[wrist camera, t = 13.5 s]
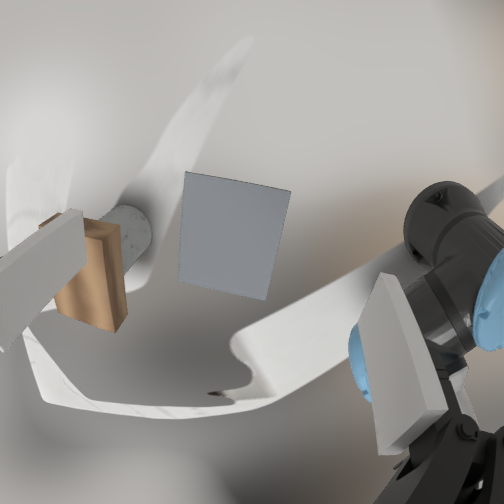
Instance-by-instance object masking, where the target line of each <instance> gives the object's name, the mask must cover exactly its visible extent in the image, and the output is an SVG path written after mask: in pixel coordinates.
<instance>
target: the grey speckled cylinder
mask: <svg viewBox="0 0 504 504" xmlns="http://www.w3.org/2000/svg"><path fill="white" fill-rule="evenodd" d="M98 221H103V222H108V223H113V224H118V225H120V232H121V249H122V263H123V274H124V275H125V273H126V272H127V271H128V270H129V269H130V267H131V266H132V265H133V264H134V263H135V262H136V260H137V259H138V258H139V257H140V256H141V255H142V253H143V252H144V251H145V250H146V249H147V248H148V247H149V245H150V243H151V240H152V229H151V226H150V223H149V221H148V219H147V218H146V216H145V215H144V214H143V213H142V212H141V211H140V210H138V209H137V208H135V207H133V206H130V205H119V206H116V207H115V208H113V209H112V210H111V211H110V212H108V213H107V214H106V215H105V216H103V217H102V218H100V219H99V220H98Z"/></svg>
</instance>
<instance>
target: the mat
mask: <svg viewBox="0 0 504 504" xmlns="http://www.w3.org/2000/svg"><path fill="white" fill-rule="evenodd" d="M290 194H291V191H287V190H283V189H278V188H273V187H268V186H263V185H258V184H253V183H248V182H242V181H237V180H232V179H226V178H220V177H215V176H209V175H203V174H197V173H190V172H185V178H184V190H183V202H182V215H181V230H180V248H179V270H178V281H180V282H184V283H188V284H192V285H197V286H201V287H205V288H210V289H214V290H218V291H223V292H228V293H232V294H237V295H241V296H247V297H251V298H256V299H261V300H266V297H267V293H268V289H269V284H270V281H271V276H272V272H273V268H274V263H275V260H276V255H277V251H278V247H279V242H280V238H281V234H282V230H283V225H284V221H285V216H286V212H287V208H288V203H289V198H290Z"/></svg>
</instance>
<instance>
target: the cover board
mask: <svg viewBox="0 0 504 504" xmlns="http://www.w3.org/2000/svg"><path fill="white" fill-rule="evenodd" d="M61 214H63V213H57V214H55V215H54V216H52V217H51V218H49V219H48V220H46V221H45V222H43V223H42V224H40V225H39V229H41V228H42V227H43V226H45V225H46V224H48V223H49V222H51V221H52V220H54V219H55V218H57V217H58V216H60V215H61ZM83 222H84V233H85V242H86V251H87V259H88V263H87V264H86V265H85V266H84V267H83V268H82V269H81V270H80V271H79V272H78V273H77V274H76V275H75V276H74V277H73V278H72V279H71V280H70V281H69V282H68V283H67V284H66V285H65V286H64V287H63V288H62V289H61V290H60V291H59V292H58V293H57V294H56V295H55V296H54V300H55V303H56V307H57V310H58V312H59V313H61V314H64V315H66V316H69V317H71V318H74V319H77V320H79V321H82V322H85V323H87V324H90V325H93V326H96V327H99V328H101V329H104V330H107V331H111V332H114V333H116V331H117V330H118V328H119V327H120V325H121V324H122V322H123V321H124V319H125V318H126V316H127V315H128V310H127V302H126V294H125V285H124V274H123V263H122V249H121V232H120V225H118V224H113V223H108V222H103V221H98V220H92V219H88V218H83Z"/></svg>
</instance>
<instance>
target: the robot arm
mask: <svg viewBox="0 0 504 504" xmlns="http://www.w3.org/2000/svg"><path fill="white" fill-rule="evenodd" d="M404 240H405V244H406V247H407V249H408V251H409V252H410V254H411V255H412V257H413V258H414V260H415V261H416V262H417V263H418V264H419V265H420V266H422V267H423V268H425V269H427V270H429V271H430V272H429V273H427V274H426V275H425V276H423V277H422V278H420V279H419V280H418V281H416V282H415V283H413V284H412V285H411V286H409V287H408V288H407V289H405V290H404V291H403V290H402V287H401V285H400V283H399V281H398V279H397V277H396V275H391V274H387V273H382V272H380V274H379V276H378V278H377V281H376V283H375V285H374V287H373V290H372V292H371V294H370V296H369V299H368V301H367V303H366V305H365V307H364V309H363V312H362V314H361V316H360V318H359V320H358V322H357V323H356V324H355V326H354V327H353V328H352V331H351V333H350V337H349V342H348V352H349V360H350V365H351V369H352V372H353V376H354V378H355V381H356V383H357V385H358V387H359V389H360V390H362V392H363V396H364V397H365V398H366V400H368V401H369V402H370V403H372V406H373V413H374V420H375V428H376V436H377V445H378V454H379V455H398V454H400V453H401V452H402V451H403V450H405V449H406V448H407V447H408V446H409V452H410V455H409V456H408V457H406V458H405V459H404V460H402V461H401V462H400V463H398V464H397V465H396V466H395V467H394V468H393V469H394V470H396V469H397V468H399V469H398V470H397V472H396V474H395V475H394V476H393V478H392V479H391V480H390V482H389V483H388V485H387V486H386V487H385V489H384V490H383V491H382V493H381V494H380V495H379V497H378V498H377V499H376V500H375V502H374V503H373V504H504V426H503V427H501V428H500V429H498V430H497V431H496V432H495V433H494V434H492V433H488V432H484V431H481V430H480V427H479V425H478V422H477V419H476V416H475V414H474V411H473V408H472V406H471V403H470V401H469V398H468V396H467V393H466V391H465V389H464V383H465V379H466V376H467V373H468V370H469V367H468V365H467V363H466V361H465V359H464V355H465V354H466V353H467V352H469V351H470V350H472V349H473V348H474V347H476V346H478V347H480V348H482V349H483V350H485V351H495V350H496V349H497V348H498V349H500V348H503V347H504V230H503V229H502V228H501V227H499V226H498V225H497V224H496V223H494V222H493V221H492V220H491V219H489V218H488V217H487V215H486V213H485V211H484V209H483V207H482V205H481V203H480V201H479V200H478V198H477V197H476V196H475V195H474V193H473V192H471V191H470V190H469V189H467V188H466V187H464V186H463V185H461V184H459V183H456V182H451V181H444V182H438V183H435V184H433V185H431V186H429V187H427V188H426V189H424V190H423V191H422V192H421V193H420V194H419V195H418V196H417V197H416V198H415V199H414V201H413V202H412V204H411V205H410V207H409V209H408V211H407V214H406V217H405V222H404ZM87 263H88V259H87V251H86V242H85V233H84V222H83V211H81V210H76V209H69V210H67V211H66V212H64V213H63V214H61V215H60V216H58V217H57V218H55V219H54V220H52V221H51V222H49V223H48V224H46V225H45V226H43V227H42V228H41V229H39V230H38V231H36V232H35V233H34V234H32V235H31V236H29V237H28V238H27V239H25V240H24V241H23V242H21V243H20V244H19V245H17V246H16V247H15V248H13V249H12V250H11V251H9V252H8V253H7V254H6V255H4V256H2V257H0V350H1V351H2V352H4V353H5V352H6V351H7V350H8V349H9V347H10V346H11V345H12V344H13V342H14V341H15V340H16V339H17V338H18V337H19V335H20V334H21V333H22V332H23V331H24V330H25V328H26V327H27V326H28V325H29V324H30V323H31V321H32V320H33V319H34V318H35V317H36V316H37V315H38V314H39V313H40V311H41V310H42V309H43V308H44V307H45V306H46V305H47V304H48V303H49V302H50V301H51V300H52V298H53V297H54V296H55V295H56V294H57V293H58V292H59V291H60V290H61V289H62V288H63V287H64V286H65V285H66V284H67V283H68V282H69V281H70V280H71V279H72V278H73V277H74V276H75V275H76V274H77V273H78V272H79V271H80V270H81V269H82V268H83V267H84V266H85V265H86V264H87Z"/></svg>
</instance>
